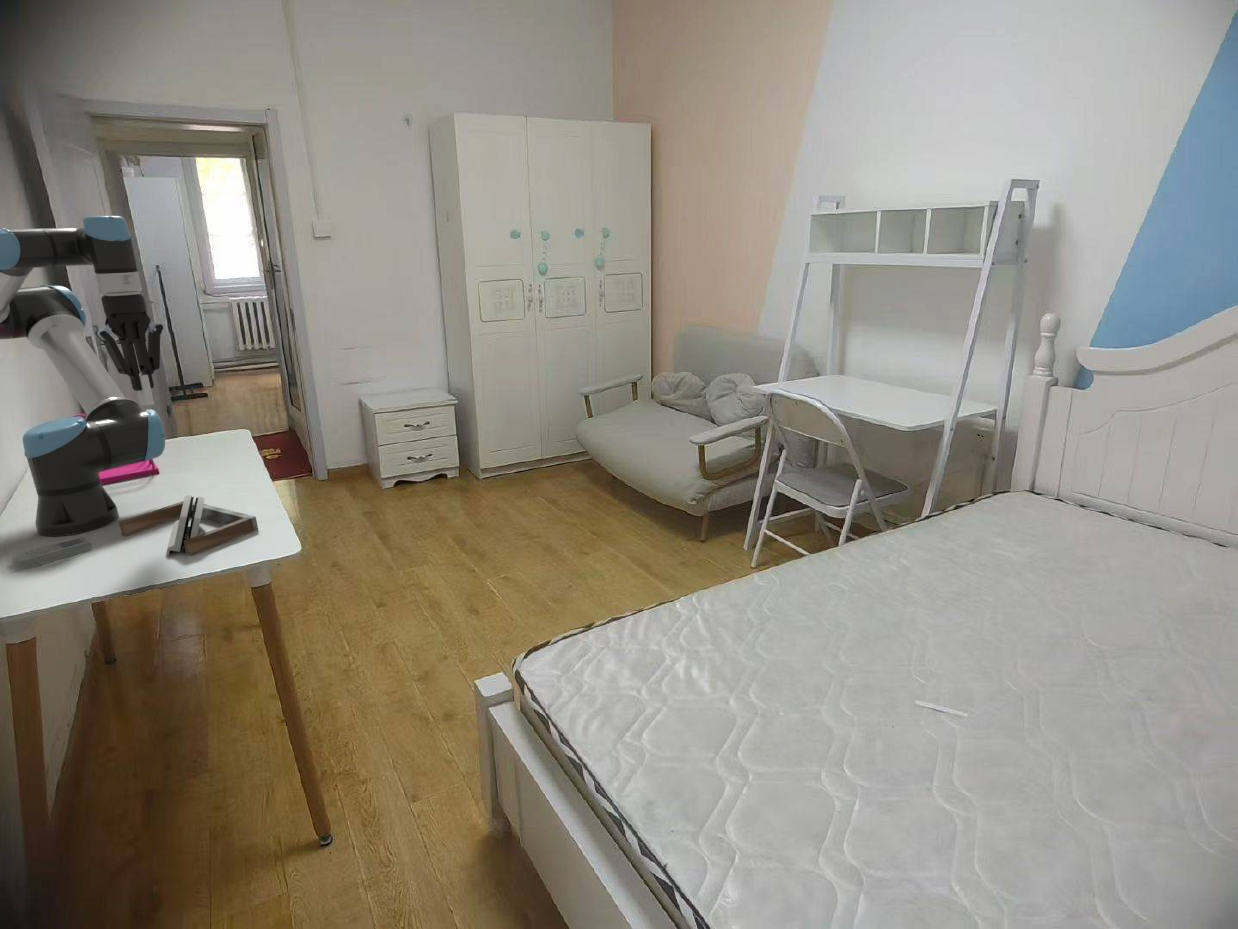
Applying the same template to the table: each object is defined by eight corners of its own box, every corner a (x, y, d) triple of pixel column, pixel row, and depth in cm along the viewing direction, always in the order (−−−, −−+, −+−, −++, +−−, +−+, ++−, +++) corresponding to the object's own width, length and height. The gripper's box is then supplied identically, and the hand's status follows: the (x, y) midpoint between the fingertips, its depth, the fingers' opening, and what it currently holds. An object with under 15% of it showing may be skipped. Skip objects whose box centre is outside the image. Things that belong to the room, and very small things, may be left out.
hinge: (173, 529, 161) (181, 486, 160) (197, 532, 163) (206, 489, 162) (165, 557, 147) (174, 510, 145) (192, 560, 149) (201, 513, 148)
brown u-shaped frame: (122, 535, 159) (118, 522, 158) (189, 511, 171) (186, 499, 170) (191, 555, 147) (188, 542, 146) (258, 529, 159) (255, 516, 158)
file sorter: (83, 489, 191) (67, 430, 186) (75, 468, 209) (61, 414, 204) (160, 474, 201) (146, 418, 196) (146, 455, 220) (134, 403, 215)
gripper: (98, 296, 146) (125, 412, 153) (163, 291, 157) (186, 399, 164) (78, 296, 150) (106, 409, 157) (143, 290, 161) (167, 396, 168)
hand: (147, 404), depth 161 cm, fingers closed
